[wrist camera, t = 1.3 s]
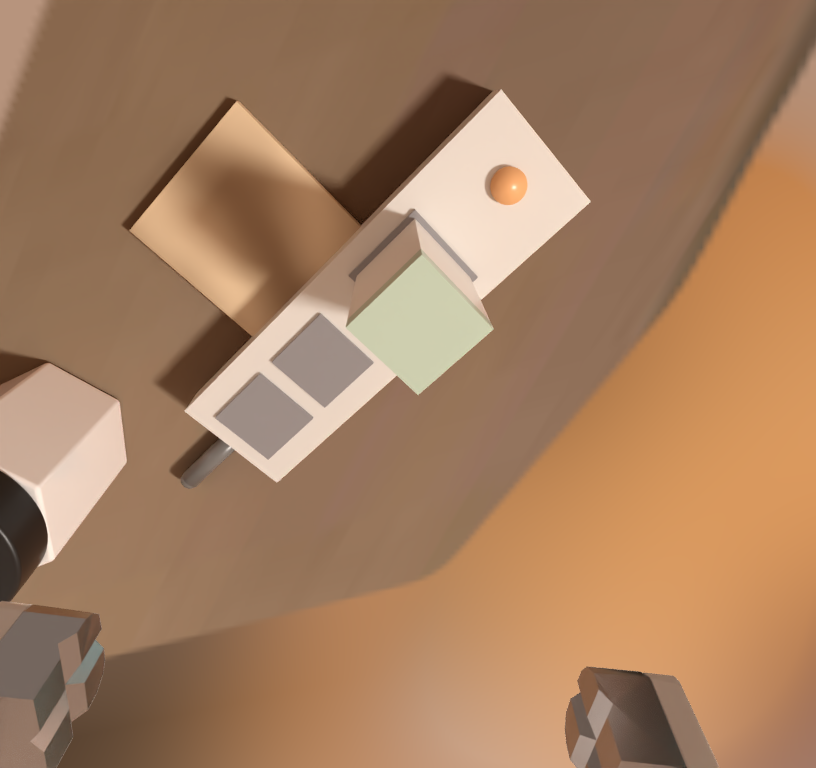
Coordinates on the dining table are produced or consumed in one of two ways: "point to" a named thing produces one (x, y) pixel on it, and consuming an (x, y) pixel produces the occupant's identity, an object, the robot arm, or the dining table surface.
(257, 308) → the coaster
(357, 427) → the dining table surface
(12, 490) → the jar
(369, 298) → the block
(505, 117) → the power strip
